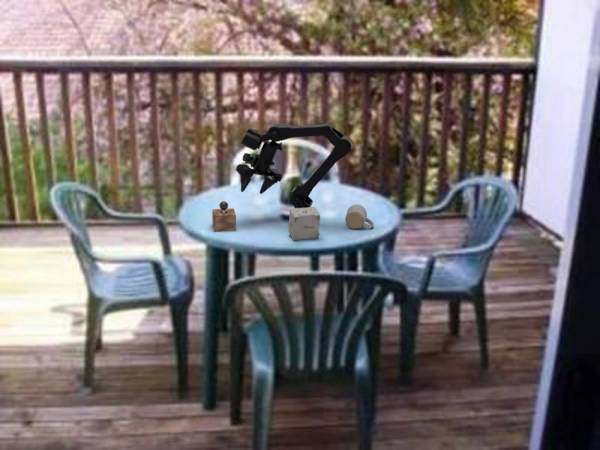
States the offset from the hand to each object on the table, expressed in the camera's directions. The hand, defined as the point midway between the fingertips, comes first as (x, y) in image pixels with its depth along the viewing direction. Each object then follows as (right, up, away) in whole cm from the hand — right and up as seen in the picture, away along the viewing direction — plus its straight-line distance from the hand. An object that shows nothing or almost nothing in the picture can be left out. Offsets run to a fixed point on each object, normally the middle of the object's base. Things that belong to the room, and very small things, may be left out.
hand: (251, 192), depth 283 cm
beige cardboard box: (+20, -17, -13) cm, 29 cm away
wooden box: (-10, -13, -4) cm, 17 cm away
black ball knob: (-10, -12, -5) cm, 16 cm away
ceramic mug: (+41, -13, 0) cm, 43 cm away
